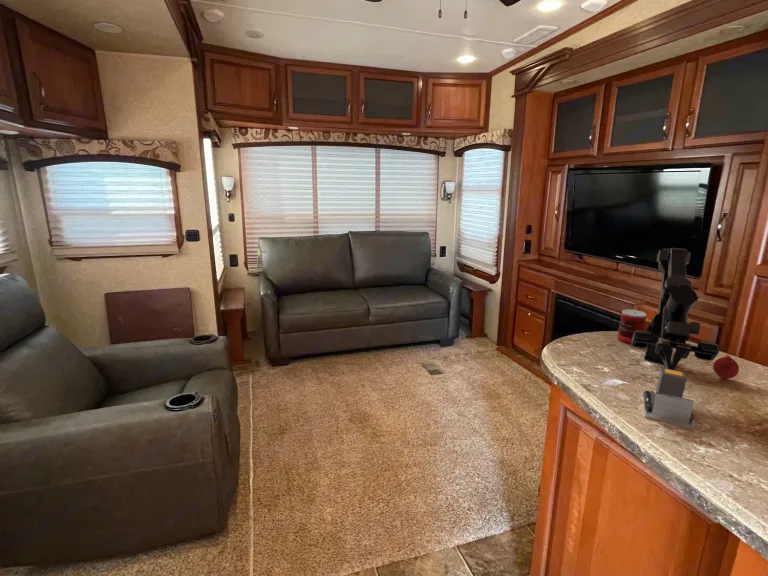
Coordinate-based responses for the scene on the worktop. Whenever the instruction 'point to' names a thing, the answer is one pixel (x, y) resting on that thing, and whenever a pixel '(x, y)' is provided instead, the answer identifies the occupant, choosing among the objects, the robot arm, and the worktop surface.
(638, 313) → the canned food
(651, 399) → the grey handled base plate
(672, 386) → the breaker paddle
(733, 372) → the onion
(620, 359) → the worktop surface
